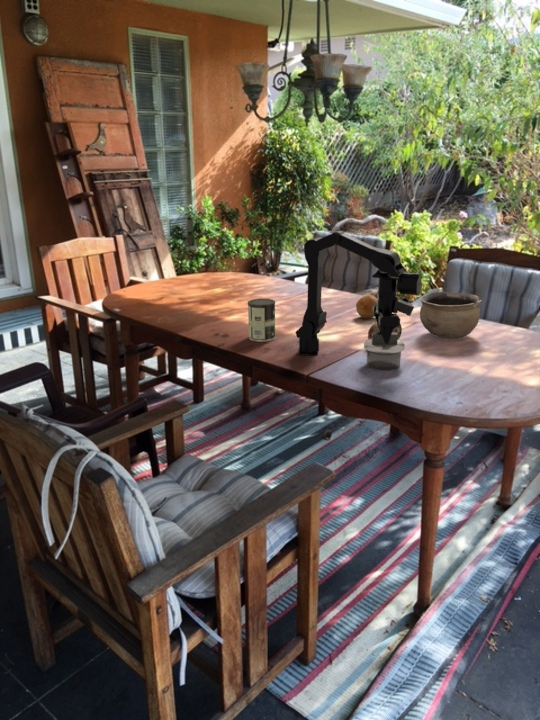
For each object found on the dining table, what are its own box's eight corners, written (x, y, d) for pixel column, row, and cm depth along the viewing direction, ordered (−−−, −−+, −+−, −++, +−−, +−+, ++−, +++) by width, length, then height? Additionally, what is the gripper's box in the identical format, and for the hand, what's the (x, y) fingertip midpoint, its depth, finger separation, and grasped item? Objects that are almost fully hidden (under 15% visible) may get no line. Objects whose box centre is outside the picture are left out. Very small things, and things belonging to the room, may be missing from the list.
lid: (366, 353, 192) (367, 339, 190) (361, 341, 204) (362, 327, 202) (407, 353, 191) (408, 339, 190) (400, 341, 203) (401, 327, 202)
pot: (368, 370, 195) (369, 352, 193) (362, 354, 210) (363, 337, 208) (402, 370, 194) (404, 352, 192) (394, 354, 209) (395, 337, 207)
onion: (356, 314, 259) (357, 291, 256) (379, 315, 257) (380, 292, 254) (354, 320, 250) (355, 296, 247) (378, 321, 248) (380, 297, 245)
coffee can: (273, 333, 234) (272, 297, 230) (277, 341, 225) (277, 304, 220) (246, 334, 233) (245, 299, 228) (250, 342, 223) (249, 305, 219)
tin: (372, 348, 215) (373, 326, 213) (365, 346, 218) (366, 324, 215) (401, 341, 223) (403, 319, 221) (395, 339, 226) (396, 317, 223)
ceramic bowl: (476, 347, 215) (480, 306, 210) (413, 342, 222) (416, 302, 217) (478, 330, 234) (482, 293, 229) (421, 326, 242) (424, 289, 237)
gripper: (418, 299, 182) (414, 348, 188) (407, 285, 200) (404, 330, 205) (381, 299, 183) (378, 348, 188) (373, 285, 200) (371, 330, 205)
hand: (384, 339), depth 197 cm, fingers open, 9 cm apart
